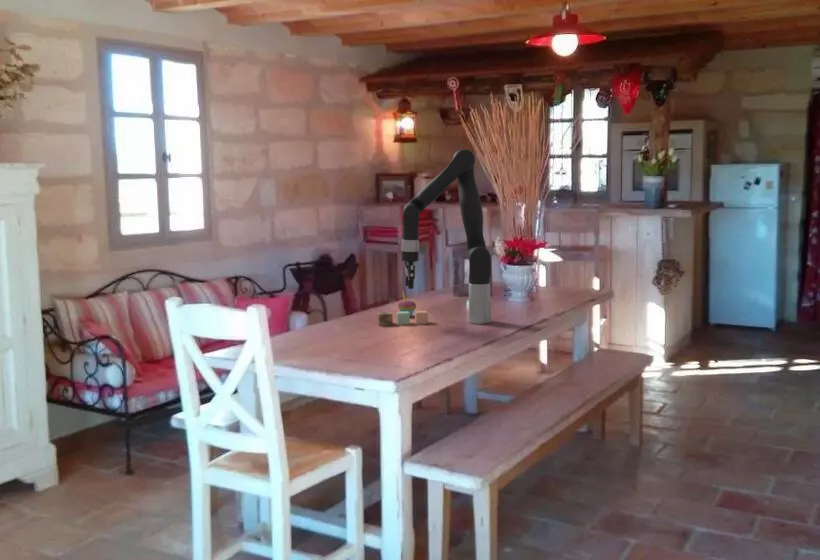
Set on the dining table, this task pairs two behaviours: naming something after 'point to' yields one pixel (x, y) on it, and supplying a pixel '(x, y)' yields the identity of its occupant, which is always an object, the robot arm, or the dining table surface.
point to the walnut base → (385, 318)
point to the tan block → (421, 317)
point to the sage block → (403, 317)
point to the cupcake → (407, 306)
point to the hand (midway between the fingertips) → (409, 287)
